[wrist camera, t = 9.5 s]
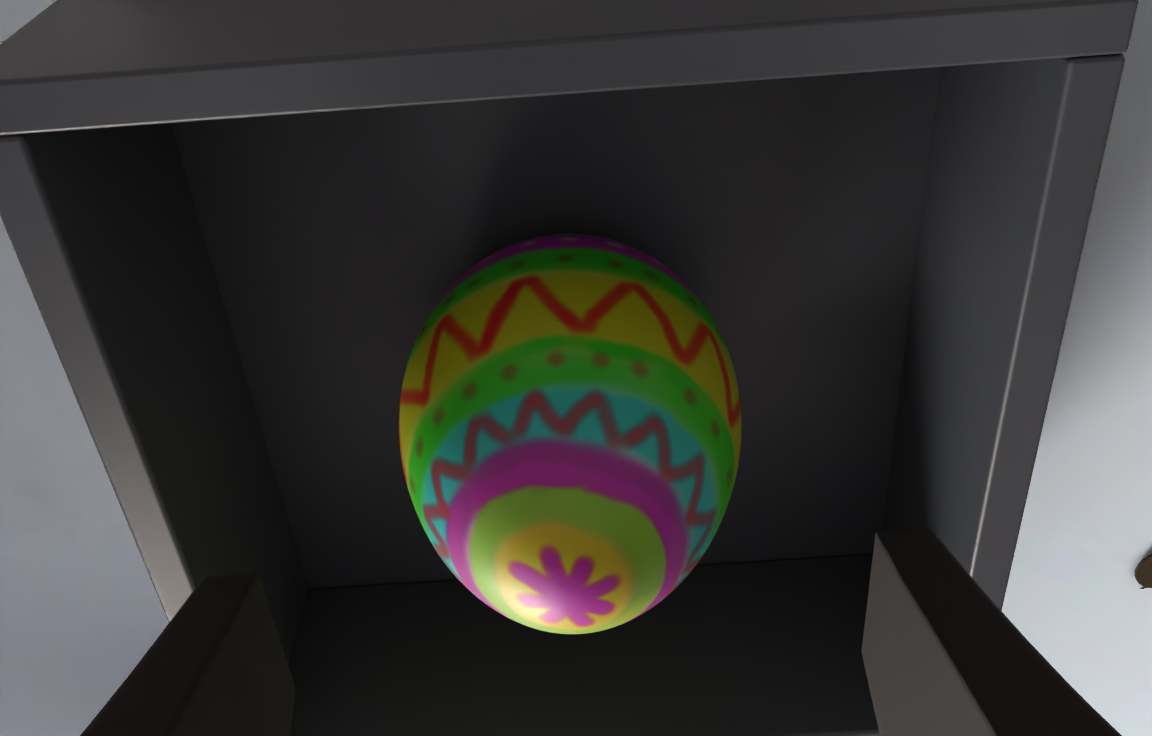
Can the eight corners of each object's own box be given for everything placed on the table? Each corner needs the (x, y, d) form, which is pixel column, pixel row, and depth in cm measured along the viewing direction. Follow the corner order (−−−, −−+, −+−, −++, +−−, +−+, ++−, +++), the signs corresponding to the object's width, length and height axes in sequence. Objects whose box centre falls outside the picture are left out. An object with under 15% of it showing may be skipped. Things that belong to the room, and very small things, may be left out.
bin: (900, 554, 21) (972, 749, 18) (290, 591, 22) (236, 791, 18) (992, -101, 15) (1142, -5, 11) (94, -33, 15) (-58, 84, 11)
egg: (416, 435, 19) (367, 724, 14) (419, 178, 16) (359, 424, 11) (693, 452, 19) (741, 741, 14) (743, 202, 16) (824, 454, 12)
